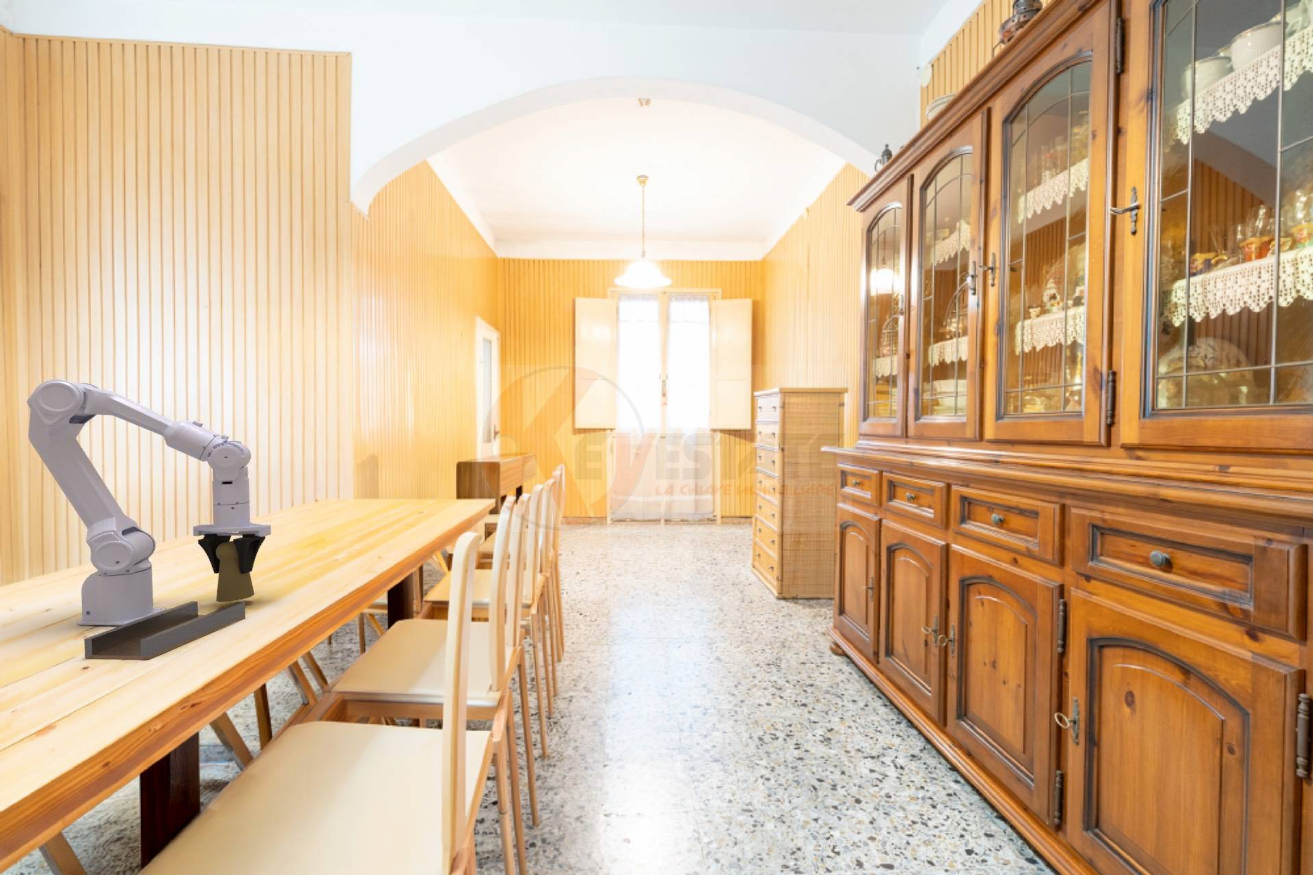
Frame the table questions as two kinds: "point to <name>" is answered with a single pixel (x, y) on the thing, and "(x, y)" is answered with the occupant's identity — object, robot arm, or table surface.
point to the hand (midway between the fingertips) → (233, 572)
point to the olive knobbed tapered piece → (231, 575)
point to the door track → (160, 632)
